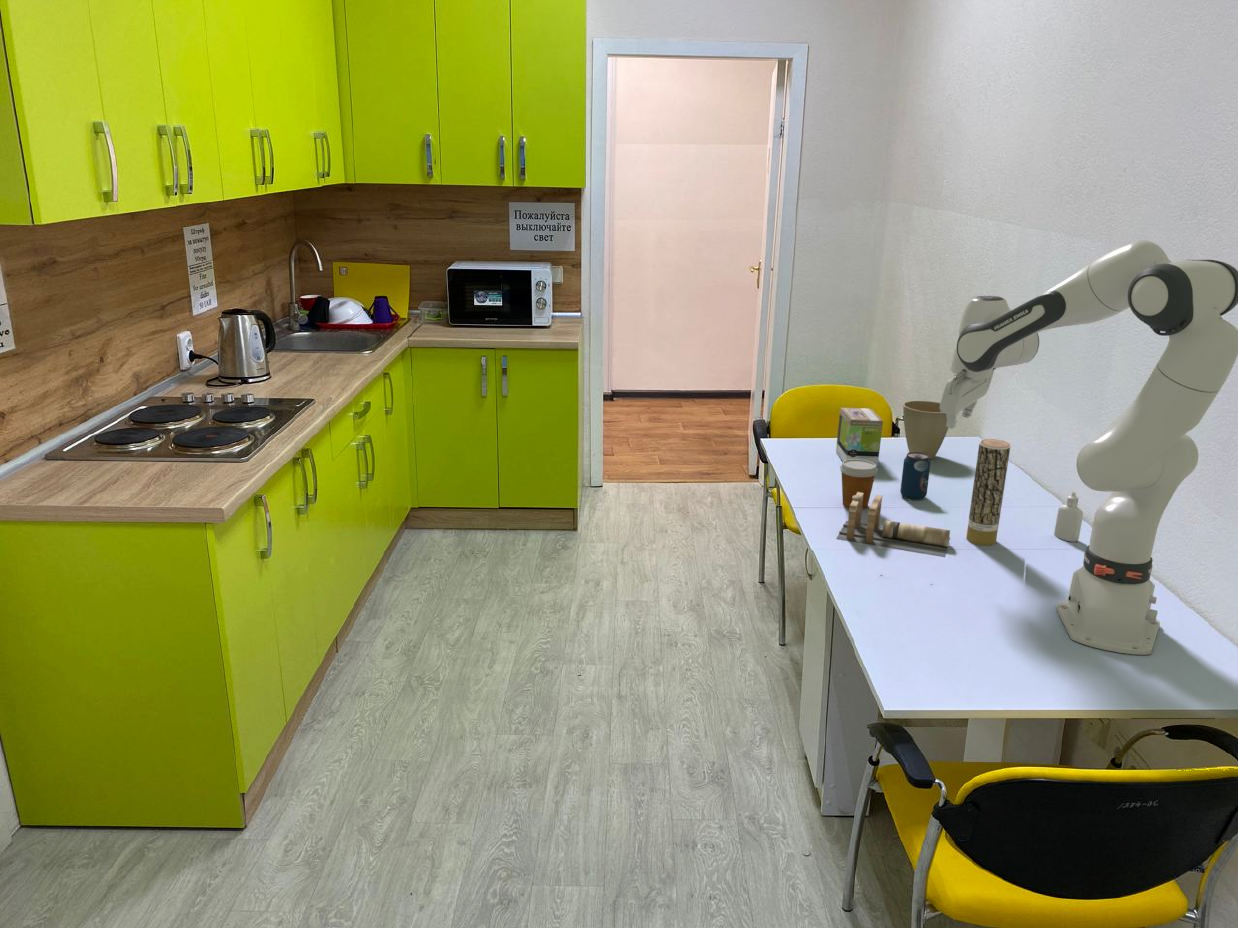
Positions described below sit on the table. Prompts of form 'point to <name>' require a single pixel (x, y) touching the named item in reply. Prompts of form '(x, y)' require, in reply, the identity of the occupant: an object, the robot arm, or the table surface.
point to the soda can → (915, 476)
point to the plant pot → (924, 426)
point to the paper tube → (988, 491)
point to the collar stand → (879, 530)
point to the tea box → (859, 434)
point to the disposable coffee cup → (857, 480)
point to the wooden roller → (916, 533)
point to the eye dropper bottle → (1069, 520)
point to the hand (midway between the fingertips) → (958, 421)
